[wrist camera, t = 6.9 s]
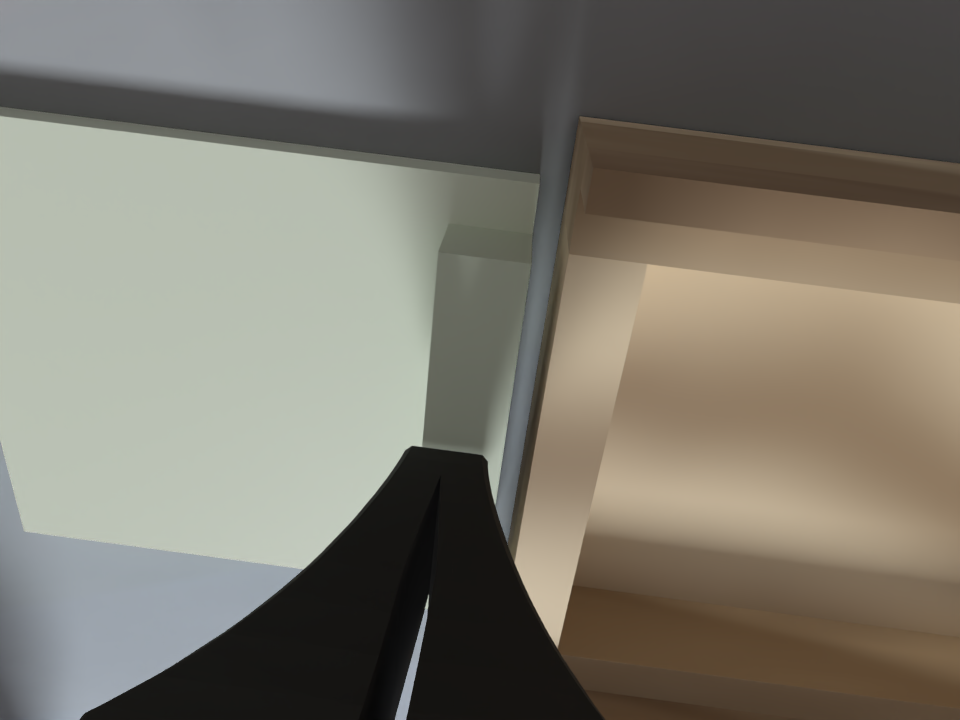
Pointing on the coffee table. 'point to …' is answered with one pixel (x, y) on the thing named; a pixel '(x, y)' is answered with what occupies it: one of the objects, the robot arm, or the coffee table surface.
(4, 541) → the coffee table surface
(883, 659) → the box
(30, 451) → the cover plate
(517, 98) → the coffee table surface
